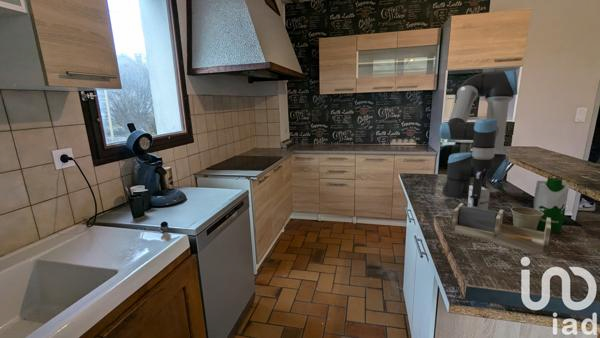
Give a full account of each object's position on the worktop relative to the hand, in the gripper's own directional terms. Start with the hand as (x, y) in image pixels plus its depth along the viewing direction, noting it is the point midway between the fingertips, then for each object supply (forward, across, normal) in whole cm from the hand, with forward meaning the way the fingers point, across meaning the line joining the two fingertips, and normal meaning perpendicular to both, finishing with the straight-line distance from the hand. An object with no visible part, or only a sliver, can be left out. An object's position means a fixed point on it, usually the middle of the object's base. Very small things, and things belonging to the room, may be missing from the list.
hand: (477, 209), depth 115 cm
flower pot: (+4, +5, +16) cm, 17 cm away
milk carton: (+5, -5, +22) cm, 23 cm away
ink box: (+2, 0, 0) cm, 2 cm away
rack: (+4, +16, +9) cm, 19 cm away
